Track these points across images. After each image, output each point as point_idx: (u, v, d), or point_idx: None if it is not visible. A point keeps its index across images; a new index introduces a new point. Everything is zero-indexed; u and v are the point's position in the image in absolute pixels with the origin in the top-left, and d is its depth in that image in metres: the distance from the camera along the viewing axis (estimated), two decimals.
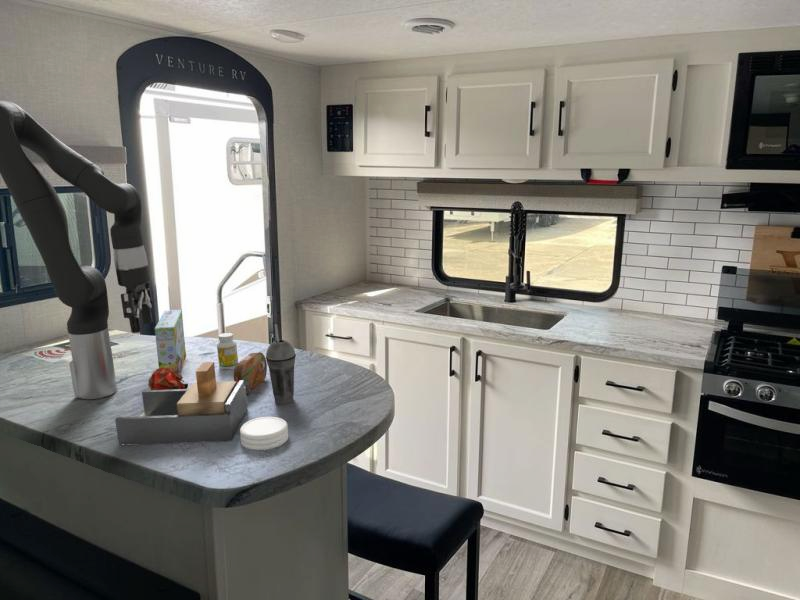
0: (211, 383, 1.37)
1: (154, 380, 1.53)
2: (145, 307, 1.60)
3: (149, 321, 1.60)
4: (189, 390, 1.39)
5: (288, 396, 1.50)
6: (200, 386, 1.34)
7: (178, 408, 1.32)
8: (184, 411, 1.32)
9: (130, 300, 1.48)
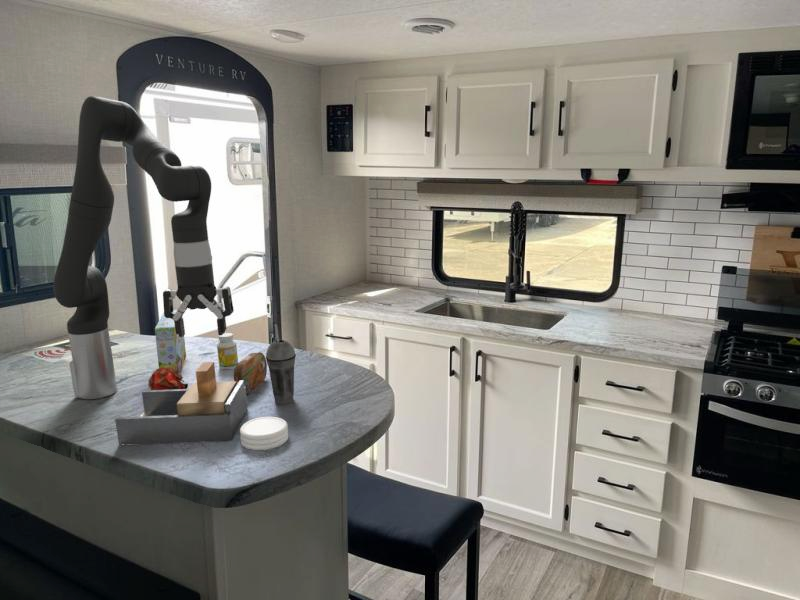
0: (211, 383, 1.37)
1: (154, 380, 1.53)
2: (180, 317, 1.33)
3: (184, 333, 1.35)
4: (189, 390, 1.39)
5: (288, 396, 1.50)
6: (200, 386, 1.34)
7: (178, 408, 1.32)
8: (184, 411, 1.32)
9: (230, 294, 1.33)
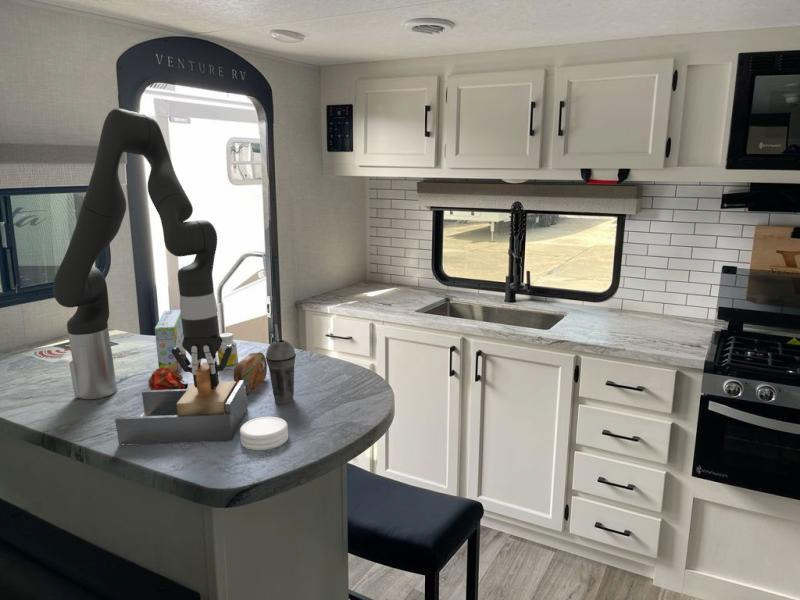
0: None
1: (154, 380, 1.53)
2: None
3: None
4: (189, 390, 1.39)
5: (288, 396, 1.50)
6: (200, 386, 1.34)
7: (178, 408, 1.32)
8: (183, 411, 1.32)
9: (231, 352, 1.36)
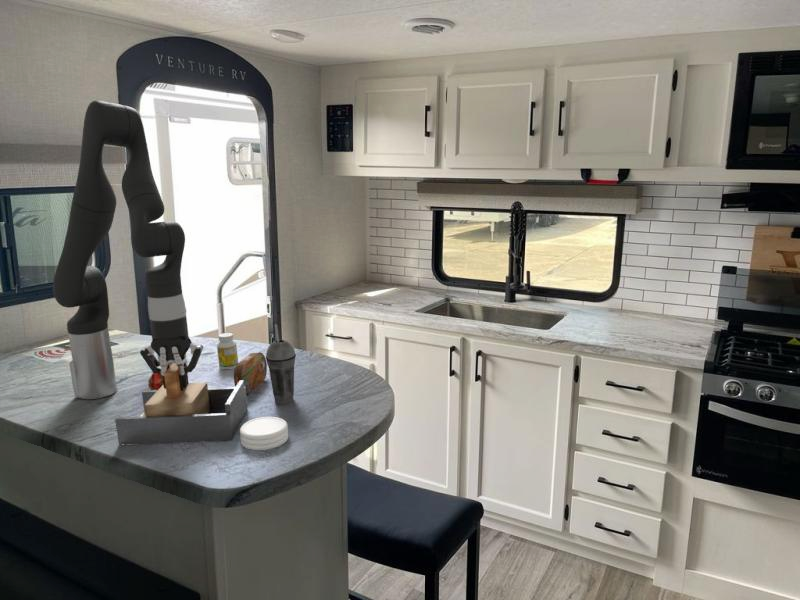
0: None
1: (154, 380, 1.53)
2: None
3: None
4: (159, 391, 1.39)
5: (288, 396, 1.50)
6: (169, 387, 1.34)
7: (146, 409, 1.32)
8: (152, 412, 1.32)
9: None
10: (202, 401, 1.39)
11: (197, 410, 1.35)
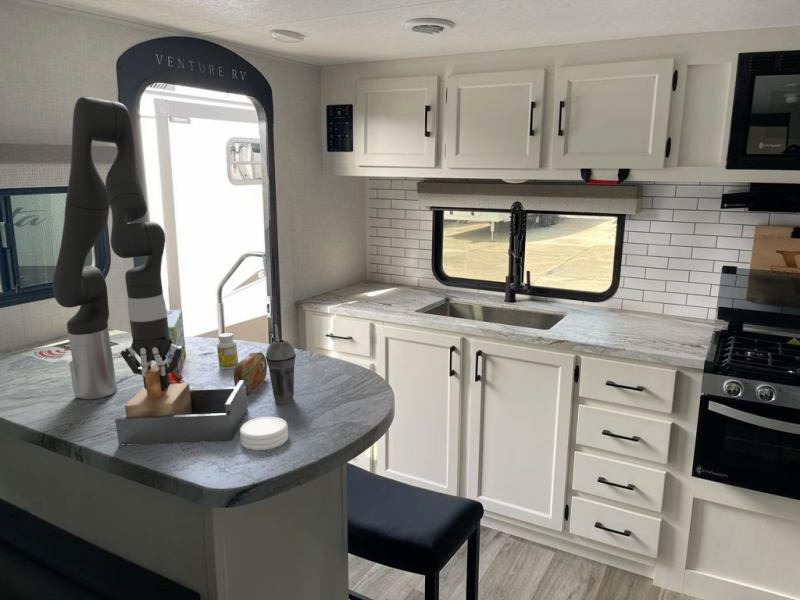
0: None
1: None
2: None
3: None
4: (140, 392, 1.38)
5: (288, 396, 1.50)
6: (149, 388, 1.34)
7: (126, 410, 1.32)
8: (132, 413, 1.32)
9: None
10: (183, 402, 1.39)
11: (178, 411, 1.35)
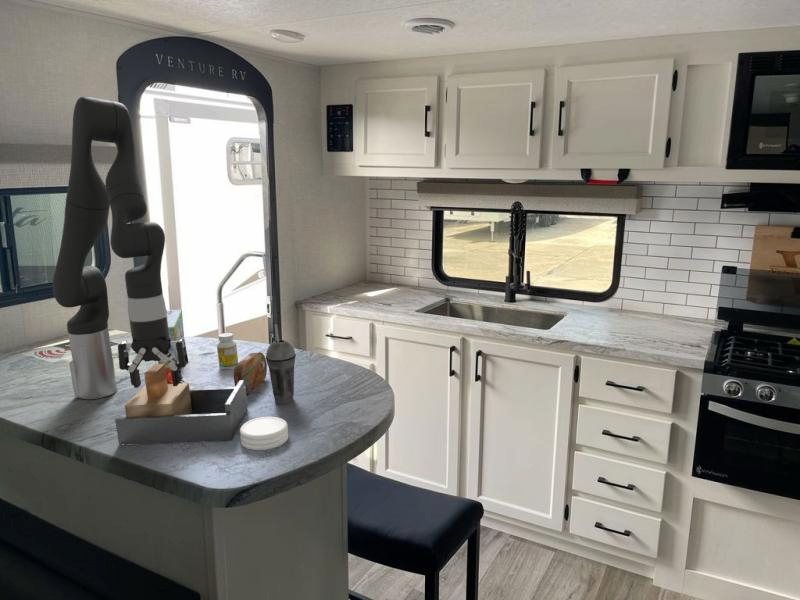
0: (161, 385, 1.36)
1: None
2: (136, 368, 1.36)
3: (139, 383, 1.37)
4: (140, 392, 1.38)
5: (288, 396, 1.50)
6: (149, 388, 1.34)
7: (126, 410, 1.32)
8: (132, 413, 1.32)
9: (185, 345, 1.36)
10: (183, 402, 1.39)
11: (178, 411, 1.35)
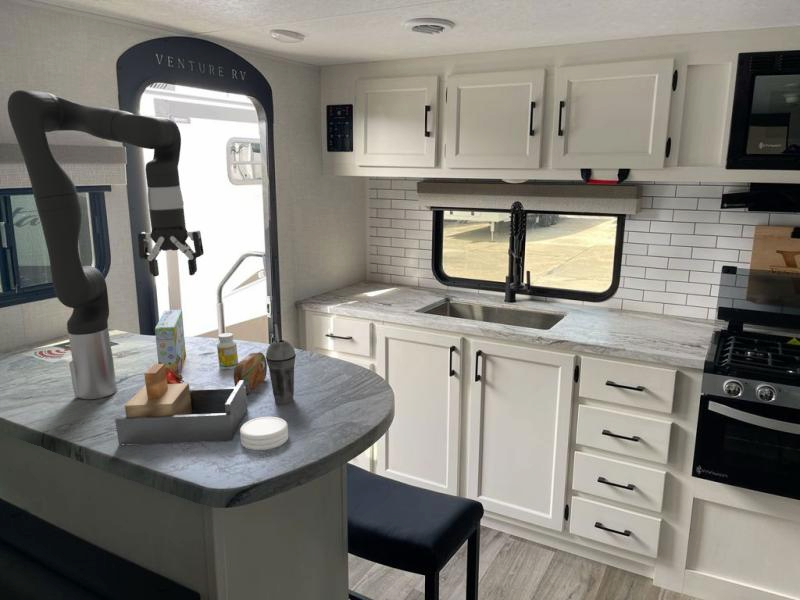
0: (161, 385, 1.36)
1: None
2: (154, 258, 1.45)
3: (158, 273, 1.46)
4: (140, 392, 1.38)
5: (288, 396, 1.50)
6: (149, 388, 1.34)
7: (126, 410, 1.32)
8: (132, 413, 1.32)
9: (200, 237, 1.45)
10: (183, 402, 1.39)
11: (178, 411, 1.35)
